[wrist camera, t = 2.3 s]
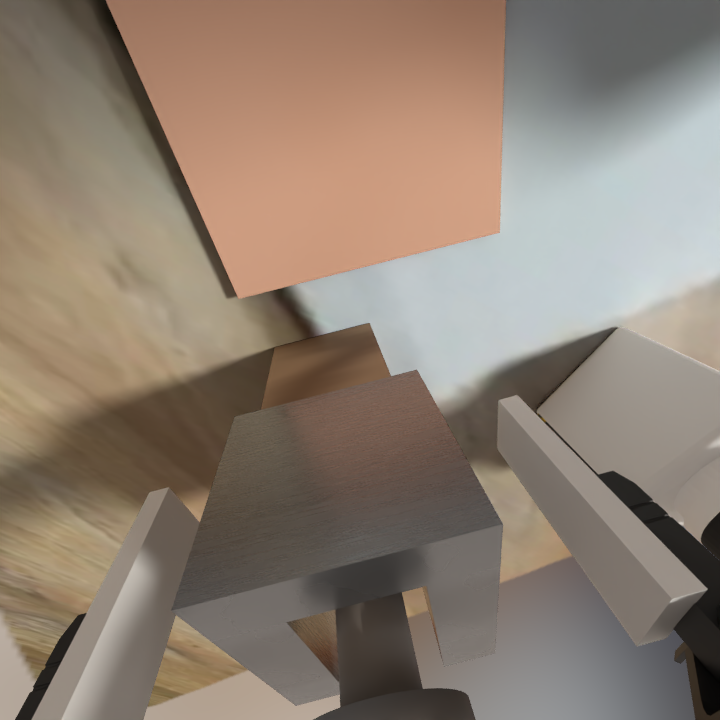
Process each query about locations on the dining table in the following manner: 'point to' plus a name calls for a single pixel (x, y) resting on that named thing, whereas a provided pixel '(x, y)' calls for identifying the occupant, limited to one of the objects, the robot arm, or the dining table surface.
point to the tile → (327, 125)
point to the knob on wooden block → (379, 616)
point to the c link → (340, 533)
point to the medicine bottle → (647, 425)
